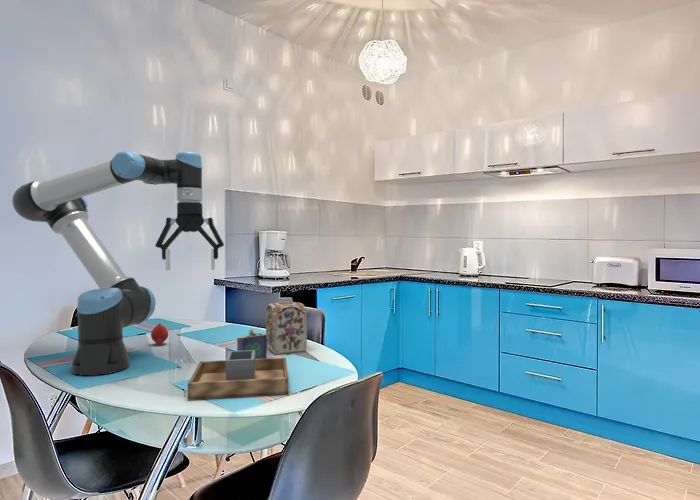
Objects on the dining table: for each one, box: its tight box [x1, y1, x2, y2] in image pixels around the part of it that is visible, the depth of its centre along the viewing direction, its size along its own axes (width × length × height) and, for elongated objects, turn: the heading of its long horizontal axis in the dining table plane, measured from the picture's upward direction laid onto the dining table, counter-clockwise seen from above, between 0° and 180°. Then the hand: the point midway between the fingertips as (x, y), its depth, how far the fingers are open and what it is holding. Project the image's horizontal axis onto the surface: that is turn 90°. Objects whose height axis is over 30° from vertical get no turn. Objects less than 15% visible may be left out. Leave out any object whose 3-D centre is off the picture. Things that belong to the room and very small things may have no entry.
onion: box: [150, 322, 169, 346], centre depth 169 cm, size 6×6×8 cm
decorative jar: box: [265, 296, 308, 355], centre depth 161 cm, size 12×12×18 cm
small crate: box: [225, 350, 255, 381], centre depth 124 cm, size 7×10×7 cm
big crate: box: [187, 357, 289, 401], centre depth 124 cm, size 24×20×4 cm
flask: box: [236, 328, 268, 359], centre depth 143 cm, size 9×3×11 cm, turn 121°
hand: (190, 270), depth 147 cm, fingers open, 13 cm apart
